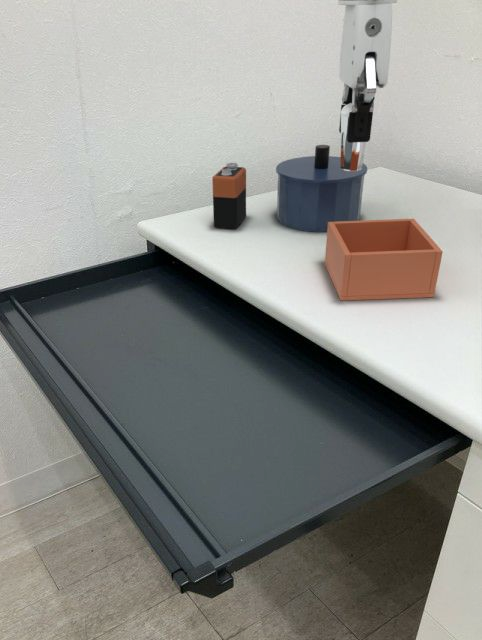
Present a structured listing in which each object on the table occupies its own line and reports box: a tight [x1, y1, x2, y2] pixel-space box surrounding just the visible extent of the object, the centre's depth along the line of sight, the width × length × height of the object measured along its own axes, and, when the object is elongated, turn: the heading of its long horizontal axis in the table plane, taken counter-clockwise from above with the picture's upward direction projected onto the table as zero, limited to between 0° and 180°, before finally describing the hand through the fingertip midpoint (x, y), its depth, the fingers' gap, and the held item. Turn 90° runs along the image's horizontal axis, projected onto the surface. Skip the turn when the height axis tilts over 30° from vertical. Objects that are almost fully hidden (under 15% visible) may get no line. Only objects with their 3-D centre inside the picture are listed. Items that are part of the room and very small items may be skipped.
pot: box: [276, 174, 365, 233], centre depth 106 cm, size 15×15×8 cm
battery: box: [212, 162, 247, 230], centre depth 105 cm, size 4×7×10 cm, turn 161°
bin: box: [324, 218, 444, 301], centre depth 84 cm, size 13×13×7 cm
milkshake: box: [340, 103, 368, 171], centre depth 87 cm, size 4×5×10 cm
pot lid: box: [275, 144, 368, 183], centre depth 103 cm, size 16×16×5 cm
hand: (353, 135), depth 88 cm, fingers closed on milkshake, 4 cm apart
